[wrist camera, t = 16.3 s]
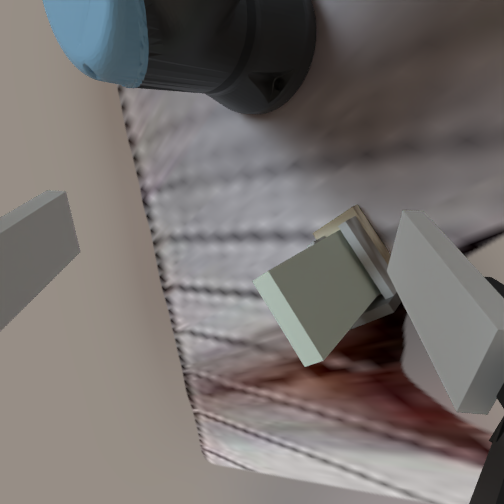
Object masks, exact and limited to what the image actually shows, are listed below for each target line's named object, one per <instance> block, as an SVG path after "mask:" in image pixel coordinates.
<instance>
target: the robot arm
mask: <svg viewBox="0 0 504 504" xmlns="http://www.w3.org/2000/svg"><path fill="white" fill-rule="evenodd" d="M43 4H44V7H45V10H46V14H47V17H48V20H49V23H50V25H51V28H52V30H53V33H54V35H55V37H56V39H57V41H58V43H59V44H60V46H61V48H62V50H63V51H64V53H65V54H66V56H67V57H68V59H69V60H70V61H71V62H72V63H73V64H74V65H75V66H76V67H77V68H78V69H79V70H80V71H81V72H82V73H84V74H85V75H87V76H89V77H91V78H93V79H95V80H99V81H104V82H109V83H115V84H120V85H122V86H124V87H126V88H144V89H156V90H169V91H181V92H193V93H204V94H206V95H208V96H210V97H211V98H213V99H214V100H216V101H217V102H219V103H220V104H222V105H223V106H225V107H226V108H228V109H230V110H232V111H235V112H239V113H245V114H263V113H267V112H270V111H273V110H275V109H277V108H278V107H280V106H282V105H283V104H284V103H286V102H287V101H288V100H289V99H290V98H291V97H292V96H293V95H294V94H295V92H296V91H297V90H298V88H299V87H300V85H301V84H302V82H303V80H304V78H305V76H306V74H307V72H308V70H309V67H310V64H311V61H312V57H313V53H314V48H315V41H316V21H315V14H314V9H313V5H312V2H311V0H43ZM79 253H80V248H79V244H78V240H77V236H76V231H75V227H74V223H73V219H72V215H71V211H70V207H69V202H68V198H67V194H66V192H65V191H51V190H47V191H45V192H43V193H42V194H40V195H38V196H36V197H35V198H33V199H32V200H30V201H28V202H26V203H24V204H23V205H21V206H19V207H18V208H16V209H14V210H13V211H11V212H9V213H7V214H6V215H4V216H2V217H0V331H1V330H2V329H3V328H4V327H5V326H6V325H7V324H8V323H9V322H10V321H11V320H12V319H13V318H14V317H15V316H16V315H17V314H18V313H19V312H20V311H21V310H22V309H23V308H24V307H25V306H26V305H27V304H28V303H30V302H31V300H32V299H34V297H36V296H37V295H38V293H40V292H41V291H42V290H43V289H44V288H45V287H46V285H48V284H49V283H50V282H51V281H52V280H53V279H54V277H56V276H57V274H59V273H60V272H61V271H62V270H63V269H64V268H65V267H66V266H67V265H68V264H69V263H70V262H71V261H72V260H73V259H74V258H75V257H76V256H77V255H78V254H79ZM387 273H388V275H389V277H390V279H391V281H392V283H393V285H394V287H395V289H396V291H397V293H398V295H399V297H400V299H401V301H402V303H403V305H404V307H405V309H406V311H407V313H408V315H409V317H410V319H411V321H412V323H413V325H414V327H415V329H416V331H417V333H418V335H419V337H420V339H421V341H422V343H423V345H424V347H425V349H426V351H427V353H428V356H429V357H430V360H431V361H432V363H433V365H434V368H435V369H436V371H437V373H438V376H439V378H440V380H441V382H442V384H443V386H444V388H445V390H446V392H447V394H448V396H449V398H450V400H451V402H452V404H453V406H454V408H455V410H456V412H462V413H474V414H486V415H487V414H488V413H489V411H490V410H491V408H492V406H493V404H494V403H495V401H496V399H498V400H499V402H500V403H501V405H502V407H503V408H504V285H503V284H502V283H500V282H498V281H497V280H495V279H493V278H492V277H484V276H483V275H482V274H481V273H480V272H479V271H478V270H477V269H476V268H475V267H474V266H473V265H472V264H471V262H470V261H469V260H468V259H467V258H466V257H465V256H464V255H463V254H462V253H461V251H460V250H459V249H458V248H457V247H456V246H455V245H454V244H453V243H452V242H451V241H450V240H449V238H448V237H447V236H446V235H445V234H444V233H443V232H442V231H441V230H440V229H439V228H438V226H437V225H436V224H435V223H434V222H433V221H432V220H431V219H430V218H429V217H428V216H427V215H426V213H425V212H424V211H412V210H403V211H402V215H401V219H400V222H399V226H398V230H397V234H396V238H395V241H394V245H393V249H392V253H391V257H390V260H389V264H388V268H387ZM489 441H490V442H492V445H491V448H490V451H489V453H488V456H487V458H486V461H485V464H484V466H483V469H482V472H481V474H480V477H479V479H478V482H477V485H476V487H475V490H474V493H473V495H472V498H471V501H470V503H469V504H504V417H503V418H502V420H501V422H500V423H499V425H498V426H497V428H496V430H495V431H494V433H493V435H492V436H491V438H490V440H489Z"/></svg>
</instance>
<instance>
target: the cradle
mask: <svg viewBox="0 0 504 504" xmlns="http://www.w3.org/2000/svg"><path fill="white" fill-rule="evenodd" d="M338 230H341V232H342V233H343V235H344V236H345V238H346V239H347V241H348V243H349V244H350V246H351V247H352V249H353V250H354V252H355V253H356V255H357V256H358V258H359V259H360V261H361V263H362V264H363V266H364V267H365V269H366V270H367V272H368V273H369V275H370V276H371V278H372V279H373V281H374V283H375V284H376V286H377V287H378V289H379V290H380V293H379V294H378V296H377V297H376V298H375V299H374V300H373V302H372V303H371V304H370V305H369V306H368V308H367V309H366V310H365V311H364V312H363V314H362V315H361V316H360V317H359V318H358V320H357V321H356V322H355V323H354V324H353V326H352V327H351V328H350V329H353V328H355V327H358V326H360V325H363V324H365V323H368V322H370V321H373V320H376V319H378V318H381V317H383V316H386V315H388V314H391V313H393V312H395V310H396V309H397V307H398V306H399V304H400V303H401V299H400V297H399V295H398V293H397V291H396V289H395V287H394V285H393V283H392V281H391V279H390V277H389V275H388V273H387V268H388V264H389V260H390V257H391V255H390V253H389V252H388V250H387V249H386V247H385V246H384V244H383V243H382V241H381V240H380V238H379V237H378V235H377V234H376V232H375V231H374V229H373V228H372V226H371V225H370V223H369V222H368V220H367V219H366V217H365V216H364V214H363V213H362V211H361V210H360V208H359V206H358V205H355V206H353V207H351V208H350V209H348V210H347V211H345V212H344V213H342V214H341V215H339V216H338V217H336V218H335V219H333V220H332V221H330V222H329V223H327V224H326V225H324V226H323V227H321V228H320V229H318V230H317V231H315V232H314V233H313V235H314V237H315V238H316V241H314V242H312V243H311V244H309V245H308V246H307V247H308V248H309V247H311V246H312V245H314V244H316V243H317V242H319V241H321V240H323V239H324V238H326V237H328V236H330V235H331V234H333V233H335V232H337V231H338ZM350 329H349V330H350Z"/></svg>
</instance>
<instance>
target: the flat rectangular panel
mask: <svg viewBox="0 0 504 504" xmlns="http://www.w3.org/2000/svg"><path fill="white" fill-rule="evenodd" d="M252 282H253V283H254V285H255V287H256V288H257V290H258V291H259V293H260V295H261V296H262V298H263V300H264V301H265V303H266V305H267V306H268V308H269V309H270V311H271V313H272V314H273V316H274V318H275V319H276V321H277V322H278V324H279V326H280V327H281V329H282V331H283V332H284V334H285V335H286V337H287V339H288V340H289V342H290V344H291V345H292V347H293V349H294V350H295V352H296V353H297V355H298V357H299V358H300V360H301V362H302V363H303V365H304V366H305V367H306V366H309V365H312V364H315V363H317V362H320V361H323V360H324V359H325V358H326V357H327V356H328V354H329V353H330V352H331V351H332V350H333V348H334V347H335V346H336V345H337V344H338V342H339V341H340V340H341V339H342V338H343V336H344V335H345V334H346V333H347V332H348V330H349V329H350V328H351V327H352V326H353V324H354V323H355V322H356V321H357V320H358V318H359V317H360V316H361V315H362V314H363V312H364V311H365V310H366V309H367V308H368V306H369V305H370V304H371V303H372V302H373V300H374V299H375V298H376V297H377V296H378V294H379V293H380V290H379V289H378V287H377V286H376V284H375V283H374V281H373V279H372V278H371V276H370V275H369V273H368V272H367V270H366V269H365V267H364V266H363V264H362V263H361V261H360V259H359V258H358V256H357V255H356V253H355V252H354V250H353V249H352V247H351V246H350V244H349V243H348V241H347V239H346V238H345V236H344V235H343V233H342V232H341V230H338V231H337V232H335V233H333V234H331V235H330V236H328V237H326V238H324V239H323V240H321V241H319V242H317V243H316V244H314V245H312V246H311V247H309V248H307V249H305V250H304V251H302V252H300V253H298V254H297V255H295V256H293V257H291V258H290V259H288V260H286V261H285V262H283V263H281V264H279V265H278V266H276V267H274V268H272V269H271V270H269V271H267V272H266V273H264V274H263V275H261V276H260V277H258V278H256V279H255V280H253V281H252Z"/></svg>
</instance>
